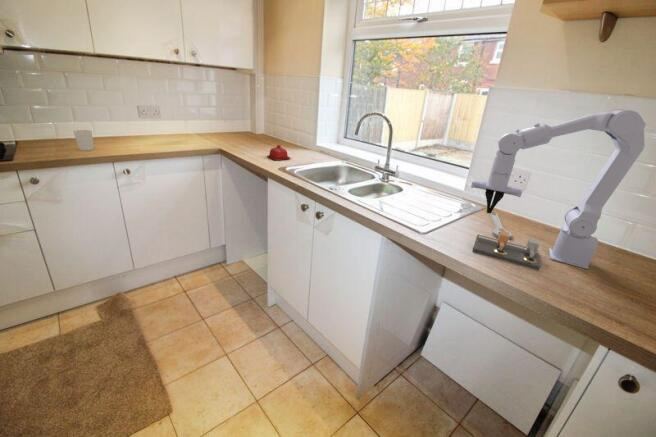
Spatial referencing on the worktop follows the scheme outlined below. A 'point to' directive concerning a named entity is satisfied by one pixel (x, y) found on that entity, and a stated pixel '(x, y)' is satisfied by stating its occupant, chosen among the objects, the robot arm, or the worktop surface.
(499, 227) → the adjustable wrench
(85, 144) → the white cup
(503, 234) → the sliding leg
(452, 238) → the worktop surface
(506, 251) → the hole plate
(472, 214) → the worktop surface
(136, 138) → the worktop surface
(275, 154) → the butter dish
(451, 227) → the worktop surface
